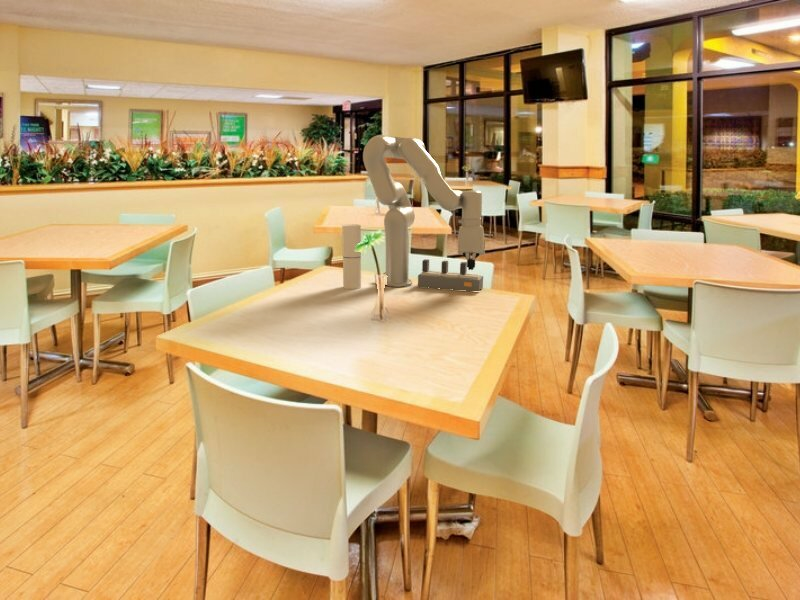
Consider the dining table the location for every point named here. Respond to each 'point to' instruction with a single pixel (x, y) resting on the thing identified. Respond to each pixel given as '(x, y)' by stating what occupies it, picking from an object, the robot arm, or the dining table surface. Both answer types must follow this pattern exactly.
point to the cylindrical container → (351, 256)
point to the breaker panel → (450, 280)
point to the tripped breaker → (463, 267)
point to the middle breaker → (444, 267)
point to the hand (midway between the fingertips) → (471, 269)
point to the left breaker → (425, 265)
